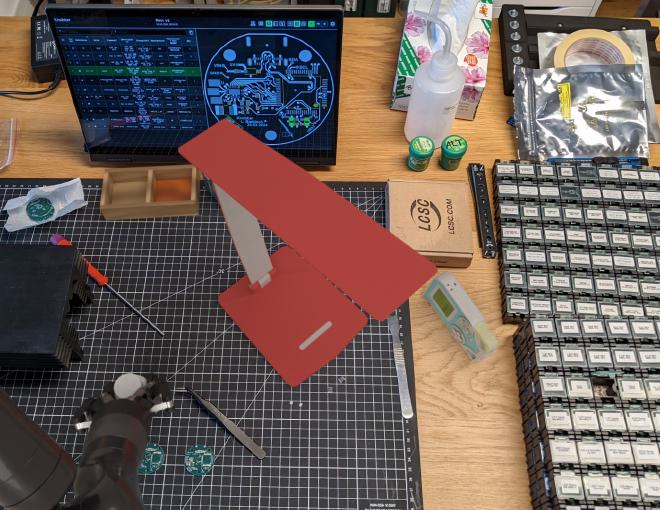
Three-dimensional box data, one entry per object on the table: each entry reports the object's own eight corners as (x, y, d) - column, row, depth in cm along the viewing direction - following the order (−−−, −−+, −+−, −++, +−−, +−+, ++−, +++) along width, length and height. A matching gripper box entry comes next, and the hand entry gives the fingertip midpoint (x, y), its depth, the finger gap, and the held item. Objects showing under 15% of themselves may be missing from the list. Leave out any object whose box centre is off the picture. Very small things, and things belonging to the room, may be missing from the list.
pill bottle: (154, 424, 98) (138, 407, 90) (122, 418, 98) (103, 400, 90) (165, 391, 101) (150, 371, 92) (133, 385, 101) (116, 365, 93)
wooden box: (198, 215, 118) (195, 203, 114) (106, 220, 117) (99, 208, 113) (200, 176, 122) (196, 164, 119) (110, 181, 121) (104, 169, 118)
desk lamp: (340, 441, 97) (349, 349, 62) (192, 281, 111) (131, 132, 76) (418, 367, 103) (466, 245, 68) (269, 223, 117) (245, 61, 82)
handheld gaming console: (470, 369, 105) (419, 297, 109) (483, 361, 106) (432, 289, 110) (491, 353, 95) (434, 274, 99) (505, 344, 96) (448, 266, 100)
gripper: (166, 401, 79) (173, 349, 95) (50, 429, 77) (78, 371, 93) (179, 452, 81) (185, 392, 97) (67, 480, 79) (92, 415, 95)
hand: (132, 382), depth 95 cm, fingers closed on pill bottle, 5 cm apart
